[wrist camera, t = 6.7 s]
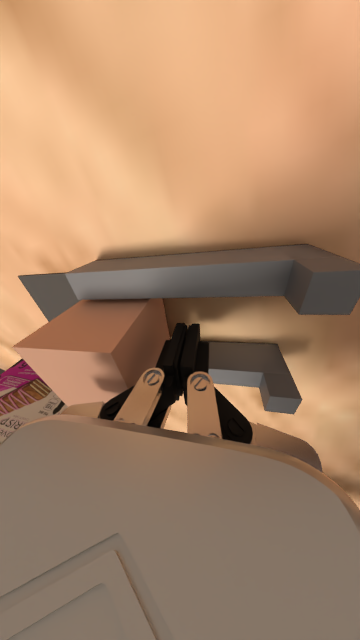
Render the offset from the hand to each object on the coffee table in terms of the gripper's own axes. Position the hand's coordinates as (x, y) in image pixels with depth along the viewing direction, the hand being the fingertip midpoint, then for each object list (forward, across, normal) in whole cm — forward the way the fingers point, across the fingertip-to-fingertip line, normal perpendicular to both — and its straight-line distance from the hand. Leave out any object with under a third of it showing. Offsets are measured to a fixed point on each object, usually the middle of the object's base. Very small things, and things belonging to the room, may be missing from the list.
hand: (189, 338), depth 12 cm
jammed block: (+4, +6, 0) cm, 7 cm away
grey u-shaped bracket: (+4, 0, 0) cm, 4 cm away
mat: (+4, +14, 0) cm, 14 cm away
